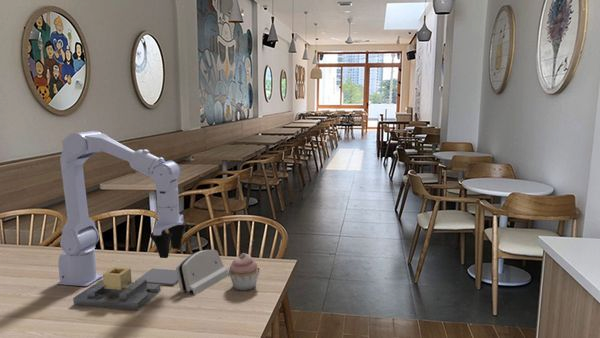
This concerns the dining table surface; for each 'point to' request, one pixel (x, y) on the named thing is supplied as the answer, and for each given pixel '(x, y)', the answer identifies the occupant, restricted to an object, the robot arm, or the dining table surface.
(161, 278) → the mat
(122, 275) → the collar
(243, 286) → the cupcake
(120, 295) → the vise
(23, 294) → the dining table surface
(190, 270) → the hinge
